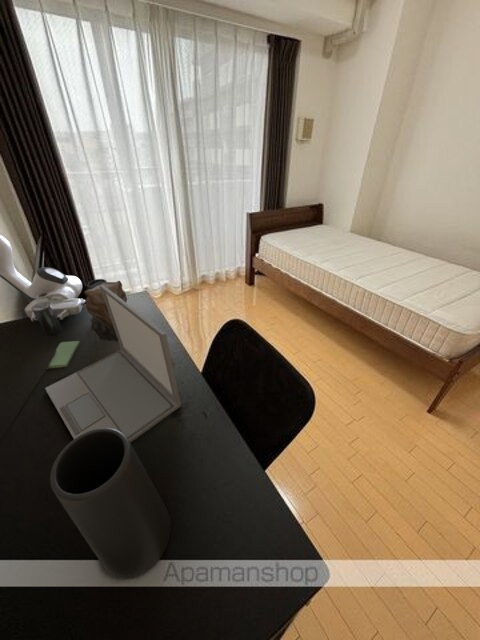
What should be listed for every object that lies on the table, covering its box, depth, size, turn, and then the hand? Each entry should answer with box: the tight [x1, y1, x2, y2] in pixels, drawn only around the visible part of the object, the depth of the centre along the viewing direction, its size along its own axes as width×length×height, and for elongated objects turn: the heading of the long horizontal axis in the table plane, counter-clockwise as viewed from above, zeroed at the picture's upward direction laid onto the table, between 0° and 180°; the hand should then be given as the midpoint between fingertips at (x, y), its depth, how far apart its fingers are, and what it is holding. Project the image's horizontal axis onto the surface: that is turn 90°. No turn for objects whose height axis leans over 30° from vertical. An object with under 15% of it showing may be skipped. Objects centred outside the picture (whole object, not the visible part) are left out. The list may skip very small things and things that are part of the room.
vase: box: [49, 428, 172, 580], centre depth 49 cm, size 14×14×29 cm
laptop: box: [44, 285, 182, 444], centre depth 77 cm, size 35×26×27 cm
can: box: [31, 302, 63, 337], centre depth 109 cm, size 6×6×12 cm
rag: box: [45, 340, 81, 370], centre depth 101 cm, size 7×13×1 cm, turn 6°
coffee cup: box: [86, 278, 108, 290], centre depth 118 cm, size 8×8×15 cm
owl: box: [84, 280, 128, 342], centre depth 106 cm, size 13×13×20 cm
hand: (46, 319), depth 108 cm, fingers open, 8 cm apart
